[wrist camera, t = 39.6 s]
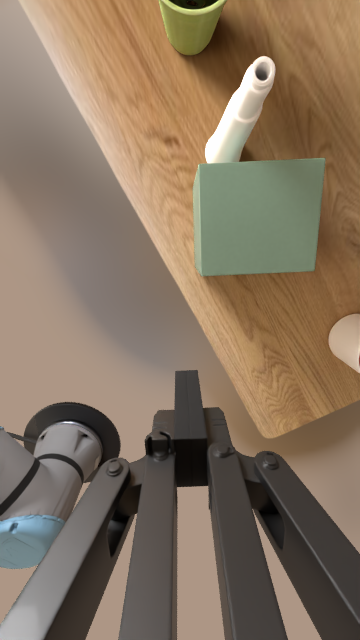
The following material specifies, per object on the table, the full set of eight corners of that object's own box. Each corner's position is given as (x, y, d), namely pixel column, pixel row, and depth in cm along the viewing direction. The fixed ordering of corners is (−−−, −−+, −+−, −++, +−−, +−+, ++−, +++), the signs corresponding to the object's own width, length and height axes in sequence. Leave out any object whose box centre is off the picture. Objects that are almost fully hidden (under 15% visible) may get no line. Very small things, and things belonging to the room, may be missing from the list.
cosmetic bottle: (202, 169, 45) (223, 104, 24) (208, 128, 43) (237, 21, 22) (236, 175, 45) (286, 117, 24) (244, 135, 44) (306, 35, 23)
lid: (322, 159, 33) (326, 157, 32) (312, 270, 36) (314, 271, 36) (198, 165, 33) (198, 163, 32) (200, 275, 37) (201, 276, 36)
